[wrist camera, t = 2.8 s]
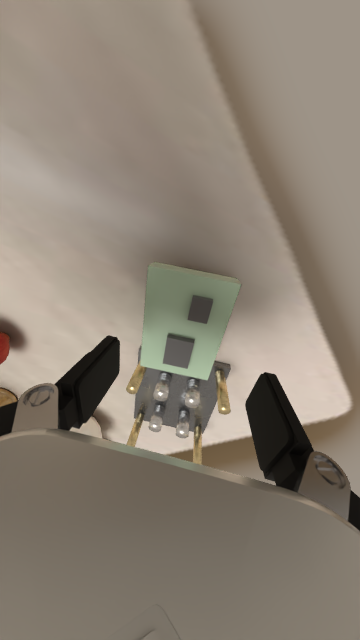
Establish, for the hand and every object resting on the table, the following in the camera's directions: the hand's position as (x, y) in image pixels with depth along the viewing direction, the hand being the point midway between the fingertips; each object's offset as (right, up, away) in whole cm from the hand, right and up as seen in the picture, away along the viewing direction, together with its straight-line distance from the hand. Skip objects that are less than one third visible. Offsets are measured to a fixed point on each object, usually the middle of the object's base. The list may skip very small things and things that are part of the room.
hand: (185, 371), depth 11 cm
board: (0, +3, +5) cm, 6 cm away
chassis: (-1, -8, +14) cm, 17 cm away
